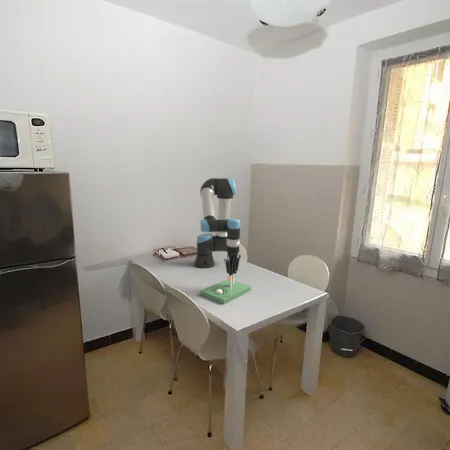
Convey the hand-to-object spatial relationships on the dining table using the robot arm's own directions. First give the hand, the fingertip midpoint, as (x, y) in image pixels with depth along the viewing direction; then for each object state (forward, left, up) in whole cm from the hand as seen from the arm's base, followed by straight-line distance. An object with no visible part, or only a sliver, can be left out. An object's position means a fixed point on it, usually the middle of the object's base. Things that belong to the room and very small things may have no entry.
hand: (231, 283), depth 176 cm
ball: (0, -12, -2) cm, 12 cm away
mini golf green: (0, -5, -4) cm, 7 cm away
